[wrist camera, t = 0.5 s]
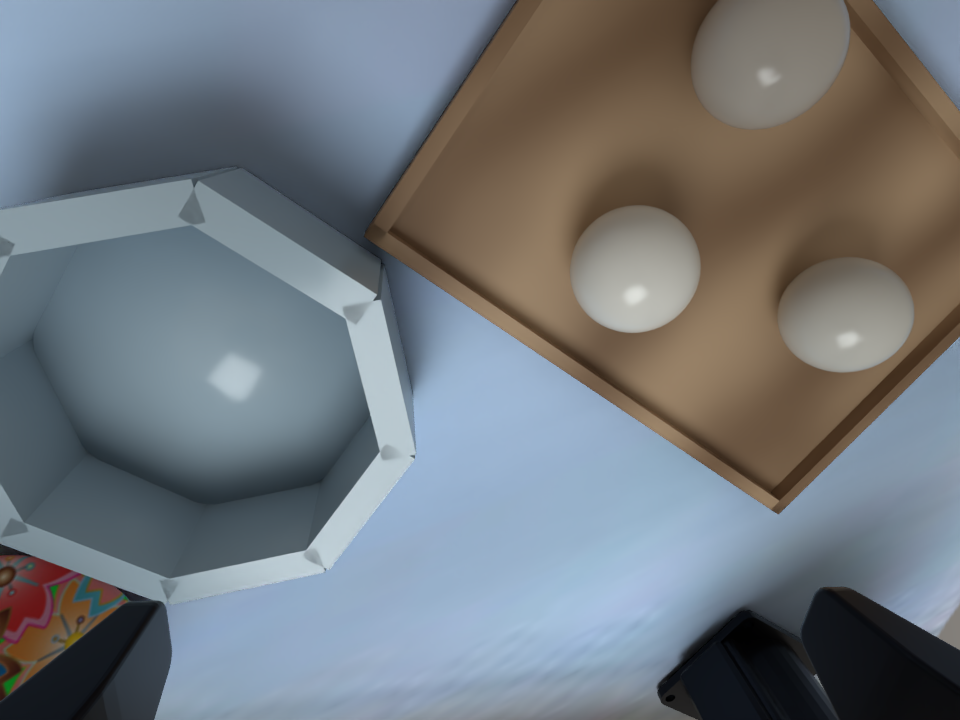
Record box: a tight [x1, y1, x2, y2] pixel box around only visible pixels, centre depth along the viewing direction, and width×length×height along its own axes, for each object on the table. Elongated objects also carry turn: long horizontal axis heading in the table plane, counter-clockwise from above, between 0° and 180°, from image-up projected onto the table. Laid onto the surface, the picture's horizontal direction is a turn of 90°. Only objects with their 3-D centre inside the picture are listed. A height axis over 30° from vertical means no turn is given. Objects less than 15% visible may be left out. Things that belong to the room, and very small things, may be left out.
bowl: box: [0, 166, 416, 605], centre depth 17 cm, size 12×12×4 cm
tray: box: [364, 0, 960, 514], centre depth 19 cm, size 20×14×1 cm
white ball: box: [570, 205, 701, 333], centre depth 17 cm, size 4×4×4 cm
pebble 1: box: [690, 0, 851, 130], centre depth 15 cm, size 4×4×4 cm
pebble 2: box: [777, 257, 914, 373], centre depth 19 cm, size 4×4×4 cm
